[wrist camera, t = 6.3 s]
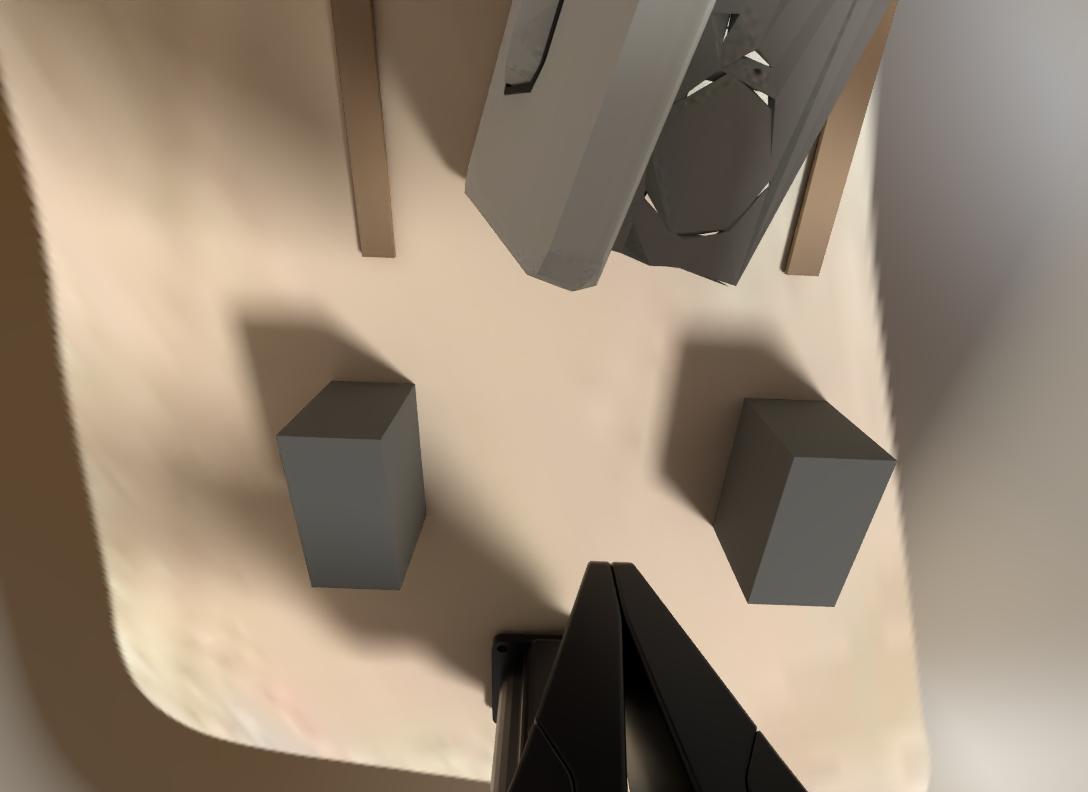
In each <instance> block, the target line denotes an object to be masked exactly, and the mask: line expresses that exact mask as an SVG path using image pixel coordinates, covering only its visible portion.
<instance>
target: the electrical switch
mask: <svg viewBox="0 0 1088 792" xmlns="http://www.w3.org/2000/svg"><path fill="white" fill-rule="evenodd" d="M891 1H892V0H513V1H512V5H511V9H510V12H509V16H508V20H507V24H506V27H505V31H504V35H503V38H502V42H501V46H500V50H499V53H498V57H497V61H496V65H495V68H494V72H493V76H492V80H491V83H490V87H489V91H488V94H487V98H486V102H485V106H484V109H483V113H482V117H481V121H480V124H479V128H478V132H477V136H476V139H475V143H474V147H473V150H472V154H471V158H470V162H469V165H468V170H467V176H466V184H465V194H466V195H467V196H468V197H469V198H470V200H471V201H472V202H473V204H474V205H475V206H476V208H477V209H478V210H479V212H480V213H481V214H482V216H483V217H484V218H485V220H486V221H487V222H488V224H489V225H490V226H491V228H492V229H493V230H494V232H495V233H496V234H497V235H498V237H499V238H500V239H501V241H502V242H503V243H504V245H505V246H506V247H507V249H508V250H509V251H510V253H511V254H512V255H513V257H514V258H515V259H516V261H517V262H518V263H519V265H520V266H521V267H522V269H523V270H524V271H525V273H526V274H527V275H529V276H532V277H535V278H537V279H540V280H542V281H545V282H548V283H550V284H553V285H556V286H558V287H561V288H564V289H566V290H569V291H576V290H580V289H584V288H588V287H592V286H596V285H597V283H598V280H599V278H600V276H601V273H602V271H603V268H604V266H605V264H606V261H607V259H608V257H609V254H610V252H611V250H613V251H616V252H619V253H622V254H624V255H627V256H629V257H631V258H633V259H636V260H638V261H640V262H642V263H645V264H647V265H649V266H668V267H675V268H681V269H684V270H686V271H689V272H692V273H694V274H697V275H699V276H702V277H705V278H707V279H710V280H713V281H715V282H718V283H721V284H723V283H722V282H725V283H728V284H731V285H734V286H736V285H737V283H738V281H739V279H740V277H741V276H742V274H743V272H744V270H745V268H746V266H747V265H748V263H749V261H750V259H751V257H752V255H753V254H754V252H755V250H756V248H757V246H758V245H759V243H760V241H761V239H762V237H763V235H764V234H765V232H766V230H767V228H768V226H769V224H770V223H771V221H772V219H773V217H774V215H775V213H776V212H777V210H778V208H779V206H780V204H781V202H782V201H783V199H784V197H785V195H786V193H787V191H788V190H789V188H790V186H791V184H792V182H793V180H794V179H795V177H796V175H797V173H798V171H799V169H800V168H801V166H802V164H803V162H804V160H805V158H806V157H807V155H808V153H809V151H810V149H811V147H812V146H813V144H814V142H815V140H816V138H817V136H818V135H819V133H820V131H821V129H822V127H823V125H824V124H825V122H826V120H827V118H828V116H829V114H830V113H831V111H832V109H833V107H834V105H835V103H836V102H837V100H838V98H839V96H840V94H841V92H842V91H843V89H844V87H845V85H846V83H847V81H848V80H849V78H850V76H851V74H852V72H853V70H854V69H855V67H856V65H857V63H858V61H859V59H860V58H861V56H862V54H863V52H864V50H865V48H866V47H867V45H868V43H869V41H870V39H871V37H872V36H873V34H874V32H875V30H876V28H877V26H878V25H879V23H880V21H881V19H882V17H883V16H884V14H885V12H886V10H887V8H888V6H889V5H890V3H891ZM730 15H731V16H730ZM729 18H730V22H729ZM728 22H729V27H727V25H728ZM726 28H727V29H728V33H727V36H726V38H725V39H724V35H725V32H726ZM723 39H724V41H723ZM722 42H723V43H722ZM752 51H756V52H757V53H758V54H759V55H760V56H761V57H762V58H763V59H764V60H765V61H766V62H767V63H768V64H769V66H766V65H764V64H762V63H759V62H757V61H755V60H752V59H750V58H748V57H745V55H747V54H748V53H750V52H752ZM704 80H709V81H713V82H712V83H710V84H709V85H707V86H705V87H703V88H702V89H700V90H698V91H697V92H695V93H693V94H691V95H690V96H688V97H687V94H688V92H689V91H690V90H692V89H693V88H695V87H696V86H697V85H699V84H700V83H701V82H703V81H704ZM753 90H755V91H760V92H762V93H764V94H766V95H768V105H767V104H766V103H765V102H764V101H763V100H762V99H761V98H760V97H759V96H758V95H757V94H756V93H755V92H754V91H753ZM768 182H769V187H767V188H766V189H765V190H764V191H763V192H762V193H761V194H760V192H761V191H762V190H763V188H764V187H765V186H766V185H767V183H768ZM646 194H648V196H649V197H650V199H651V201H652V203H653V205H654V206H655V208H656V210H657V212H658V213H657V212H656V210H655V209H654V208H653V207H652V206H651V205H650V204H649V203H648V202H647V200H646V199H645V198H644V197H645V196H646ZM759 194H760V195H759ZM758 195H759V196H758ZM757 196H758V197H757ZM718 231H719V232H718ZM711 232H718V233H717V234H713V235H708V236H703V235H699V234H705V233H711ZM718 280H719V281H718ZM720 281H722V282H720ZM723 285H725V284H723ZM726 286H727V285H726ZM728 287H729V286H728Z"/></svg>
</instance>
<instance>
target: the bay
mask: <svg viewBox="0 0 1088 792" xmlns="http://www.w3.org/2000/svg"><path fill="white" fill-rule="evenodd" d="M897 2H898V0H892V1H891V3H890V5H889V6H888V8H887V10H886V12H885V14H884V16H883V17H882V19H881V21H880V23H879V25H878V26H877V28H876V30H875V32H874V34H873V36H872V37H871V39H870V41H869V43H868V45H867V47H866V48H865V50H864V52H863V54H862V56H861V58H860V59H859V61H858V63H857V65H856V67H855V69H854V70H853V72H852V74H851V76H850V78H849V80H848V81H847V83H846V85H845V87H844V89H843V91H842V92H841V94H840V96H839V98H838V100H837V102H836V103H835V105H834V107H833V109H832V111H831V113H830V114H829V116H828V118H827V120H826V122H825V124H824V125H823V127H822V129H821V133H820V137H819V141H818V145H817V149H816V153H815V157H814V160H813V164H812V168H811V172H810V176H809V180H808V184H807V188H806V192H805V195H804V199H803V203H802V207H801V211H800V215H799V219H798V223H797V227H796V230H795V234H794V238H793V242H792V246H791V250H790V254H789V258H788V262H787V266H786V269H785V273H784V274H787V275H805V276H819V273H820V269H821V266H822V262H823V259H824V255H825V252H826V248H827V245H828V241H829V238H830V235H831V231H832V228H833V224H834V221H835V217H836V214H837V210H838V207H839V203H840V200H841V196H842V193H843V189H844V186H845V183H846V179H847V176H848V172H849V169H850V165H851V162H852V158H853V155H854V151H855V148H856V144H857V141H858V137H859V134H860V131H861V127H862V124H863V120H864V117H865V113H866V110H867V106H868V103H869V99H870V96H871V92H872V89H873V85H874V82H875V79H876V75H877V72H878V68H879V65H880V61H881V58H882V54H883V51H884V47H885V44H886V40H887V37H888V33H889V30H890V27H891V23H892V19H893V16H894V13H895V9H896V6H897ZM331 8H332V16H333V24H334V32H335V40H336V48H337V56H338V64H339V73H340V81H341V89H342V97H343V105H344V113H345V121H346V129H347V137H348V146H349V154H350V162H351V170H352V178H353V186H354V194H355V202H356V211H357V219H358V227H359V235H360V243H361V251H362V257H385V258H395V257H396V255H395V244H394V233H393V223H392V212H391V201H390V190H389V180H388V169H387V158H386V148H385V137H384V126H383V115H382V105H381V94H380V83H379V73H378V62H377V51H376V40H375V30H374V19H373V8H372V0H331Z"/></svg>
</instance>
